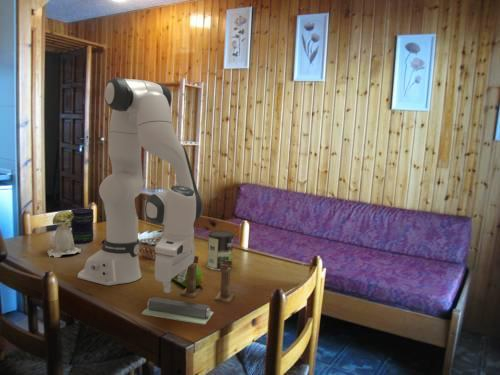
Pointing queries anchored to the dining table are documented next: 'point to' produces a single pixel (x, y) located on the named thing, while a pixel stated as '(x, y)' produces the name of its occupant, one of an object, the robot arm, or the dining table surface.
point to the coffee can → (219, 248)
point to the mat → (177, 316)
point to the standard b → (225, 283)
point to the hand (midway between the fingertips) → (174, 286)
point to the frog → (63, 235)
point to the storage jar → (82, 225)
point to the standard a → (191, 280)
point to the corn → (198, 278)
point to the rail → (178, 307)
